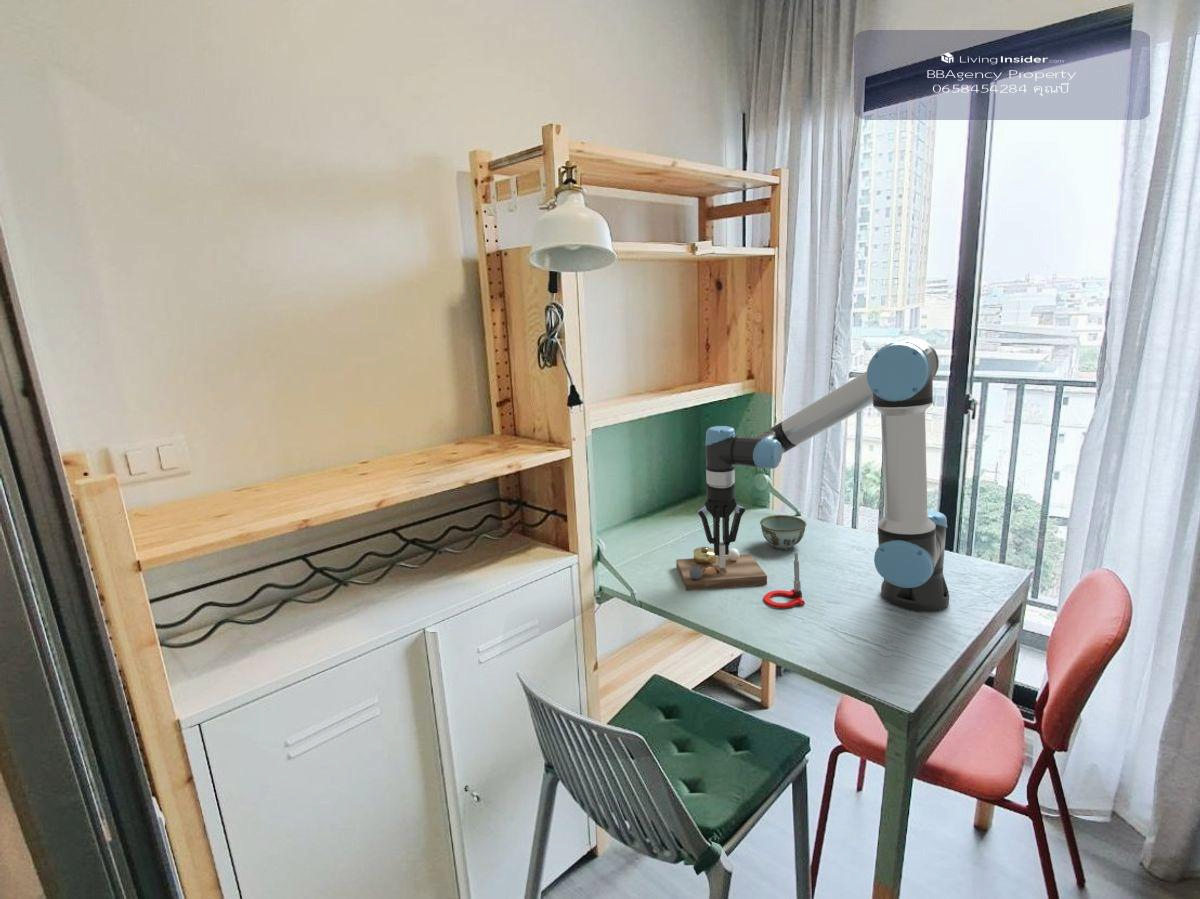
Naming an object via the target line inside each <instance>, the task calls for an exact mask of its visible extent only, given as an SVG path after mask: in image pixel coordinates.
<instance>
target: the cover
mask: <svg viewBox="0 0 1200 899" xmlns="http://www.w3.org/2000/svg"><path fill="white" fill-rule="evenodd" d="M716 557H717V556H716V555H715V553H714V547H713V548H712V547H709V546H708V547H707V546H701V547H700V546H699V547H696V548H695V549H693V558H694V561H695V562H697V563H700V564H711V563H714V562H715V561H716Z"/></svg>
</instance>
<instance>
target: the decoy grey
mask: <svg viewBox="0 0 1200 899" xmlns="http://www.w3.org/2000/svg"><path fill="white" fill-rule="evenodd" d="M689 574H690V576H691V578H693V579H699V578H701V576H702V570H701V568H700V567H698V566H694V567H692V568H691V569H690V571H689Z"/></svg>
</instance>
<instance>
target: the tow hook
mask: <svg viewBox="0 0 1200 899" xmlns="http://www.w3.org/2000/svg"><path fill="white" fill-rule="evenodd" d="M798 554H799V553H798V552H794V560H793V572H794V573H793V574H794V575H793V576H794V580H793V589H791V590H779V589H778V590H771V591H769V592H767V593H765V594H764V596H763V602H764V603H765V604H766V605H767V606H769V607H773V608H775V609H790V608H792V607H795V606H797V605H800V606H801V607H802V606H804V605H805V604H806V602H805V600H804V599H803V591H801V590H802V589H801V588H802V587H801V586H802V585H801V580H800V561H799V558H798V557H799V555H798ZM775 596H783V597H785V596H786V597H788V598H791V600H790V601H788V602H776V601H774V600H772V598H773V597H775Z"/></svg>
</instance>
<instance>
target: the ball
mask: <svg viewBox="0 0 1200 899" xmlns="http://www.w3.org/2000/svg"><path fill="white" fill-rule="evenodd" d="M704 573H705V574H709V575H714V574H717V571H716V570H715V569H714V568H713V567H708V568H706V569H705V571H704Z"/></svg>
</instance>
